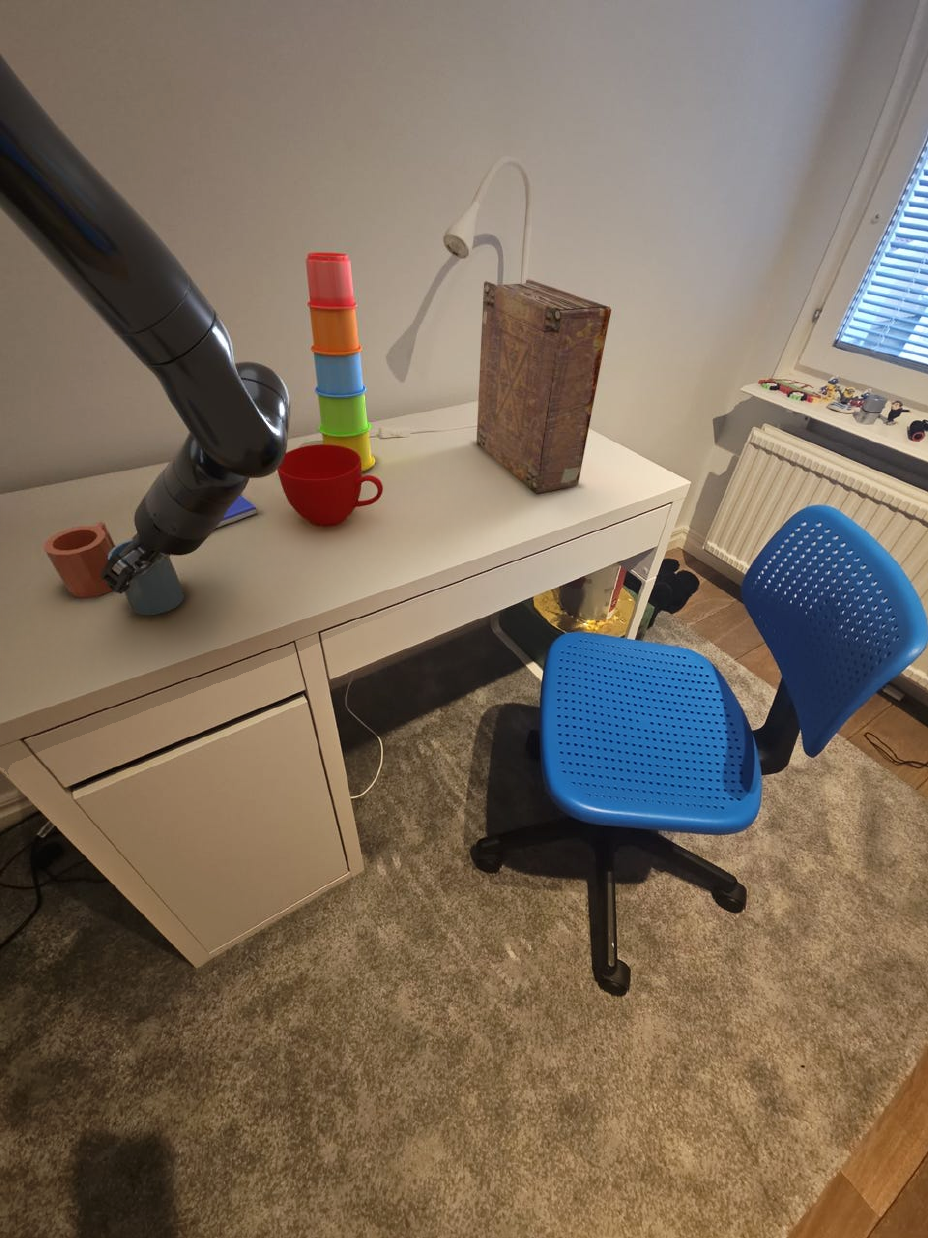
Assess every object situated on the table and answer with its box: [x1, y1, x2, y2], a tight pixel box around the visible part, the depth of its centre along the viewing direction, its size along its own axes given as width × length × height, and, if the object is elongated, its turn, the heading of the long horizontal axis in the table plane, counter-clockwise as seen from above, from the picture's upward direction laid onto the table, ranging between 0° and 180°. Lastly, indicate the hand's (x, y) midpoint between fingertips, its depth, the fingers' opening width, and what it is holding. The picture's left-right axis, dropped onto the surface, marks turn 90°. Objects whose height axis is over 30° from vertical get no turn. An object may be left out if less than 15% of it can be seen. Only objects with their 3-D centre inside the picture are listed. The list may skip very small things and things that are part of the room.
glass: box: [108, 538, 185, 616], centre depth 70 cm, size 6×6×8 cm
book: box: [476, 278, 612, 495], centre depth 99 cm, size 25×9×30 cm, turn 25°
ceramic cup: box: [276, 443, 384, 528], centre depth 87 cm, size 13×17×10 cm
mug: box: [43, 521, 117, 598], centre depth 74 cm, size 10×7×7 cm
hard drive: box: [215, 494, 258, 529], centre depth 89 cm, size 2×8×12 cm
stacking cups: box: [305, 251, 376, 473], centre depth 95 cm, size 10×10×35 cm
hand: (136, 571), depth 70 cm, fingers closed on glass, 6 cm apart
